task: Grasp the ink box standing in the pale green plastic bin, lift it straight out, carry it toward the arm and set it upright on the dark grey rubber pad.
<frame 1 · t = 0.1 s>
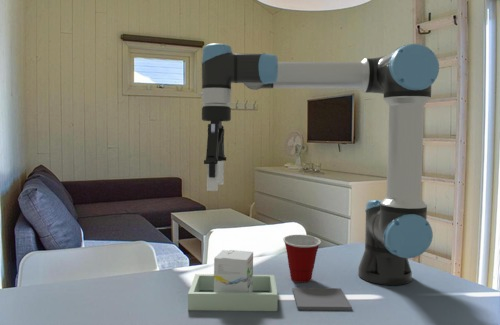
hand: (215, 187, 118), 28 cm above the table, fingers open, 13 cm apart
ink box: (233, 300, 114), resting in bin
bin: (233, 299, 114), on the table
plastic cup: (301, 280, 130), on the table
pad: (320, 300, 114), on the table
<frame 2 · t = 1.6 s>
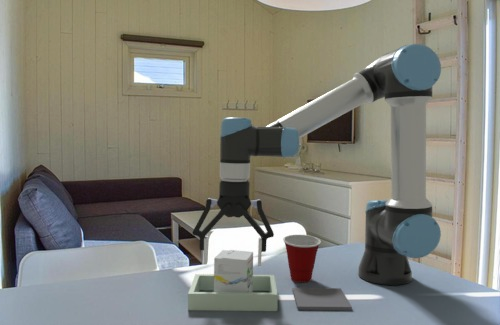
hand: (232, 263, 113), 9 cm above the table, fingers open, 13 cm apart
nothing on the table moved.
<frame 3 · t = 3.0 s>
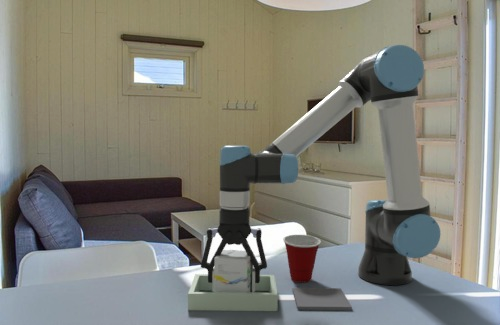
hand: (233, 295, 114), 1 cm above the table, fingers closed on ink box, 9 cm apart
ink box: (233, 300, 114), resting in bin, touching gripper
everything else where it was.
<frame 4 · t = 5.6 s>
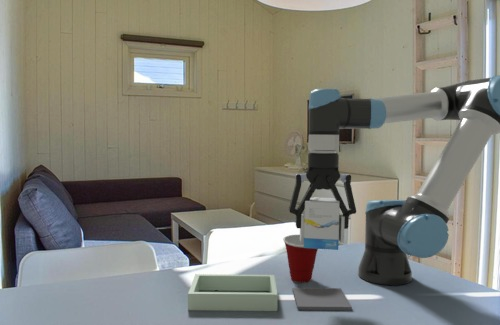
hand: (321, 241, 113), 15 cm above the table, fingers closed on ink box, 9 cm apart
ink box: (321, 246, 113), point 14 cm above the table, touching gripper
everything else where it was.
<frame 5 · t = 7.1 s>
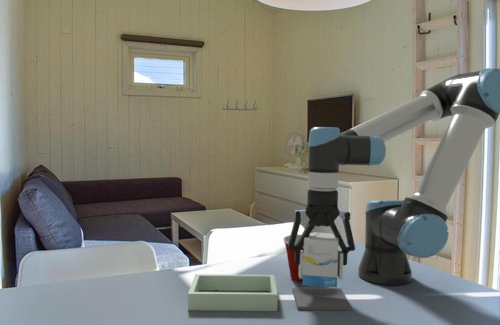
hand: (320, 277, 114), 6 cm above the table, fingers closed on ink box, 9 cm apart
ink box: (320, 282, 114), point 5 cm above the table, touching gripper
everything else where it was.
when the fingers open (3 cm above the table, at t = 8.2 s): ink box drops 1 cm, resting on pad.
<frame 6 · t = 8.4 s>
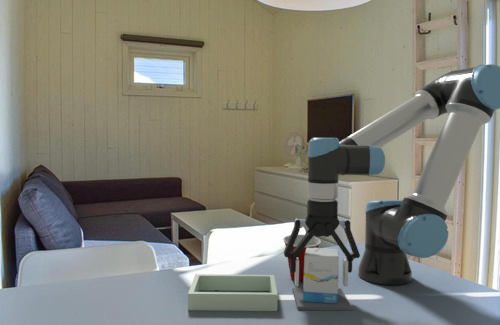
hand: (320, 284, 114), 4 cm above the table, fingers open, 11 cm apart
ink box: (320, 297, 114), point 1 cm above the table, touching pad
everything else where it was.
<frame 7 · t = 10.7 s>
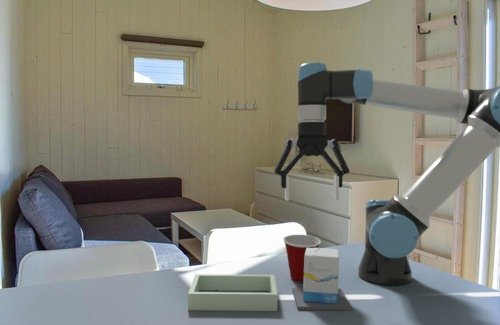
hand: (311, 199, 123), 24 cm above the table, fingers open, 13 cm apart
nothing on the table moved.
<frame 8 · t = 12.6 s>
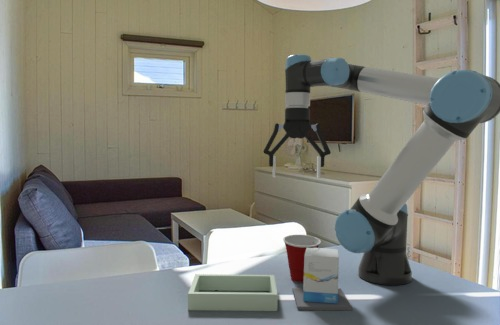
hand: (296, 177, 137), 29 cm above the table, fingers open, 13 cm apart
nothing on the table moved.
at the end: ink box inside the target area on the pad (0.1 cm from its centre), point 0.6 cm above the pad's base; ink box tilted 0°; the gripper is holding nothing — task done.
